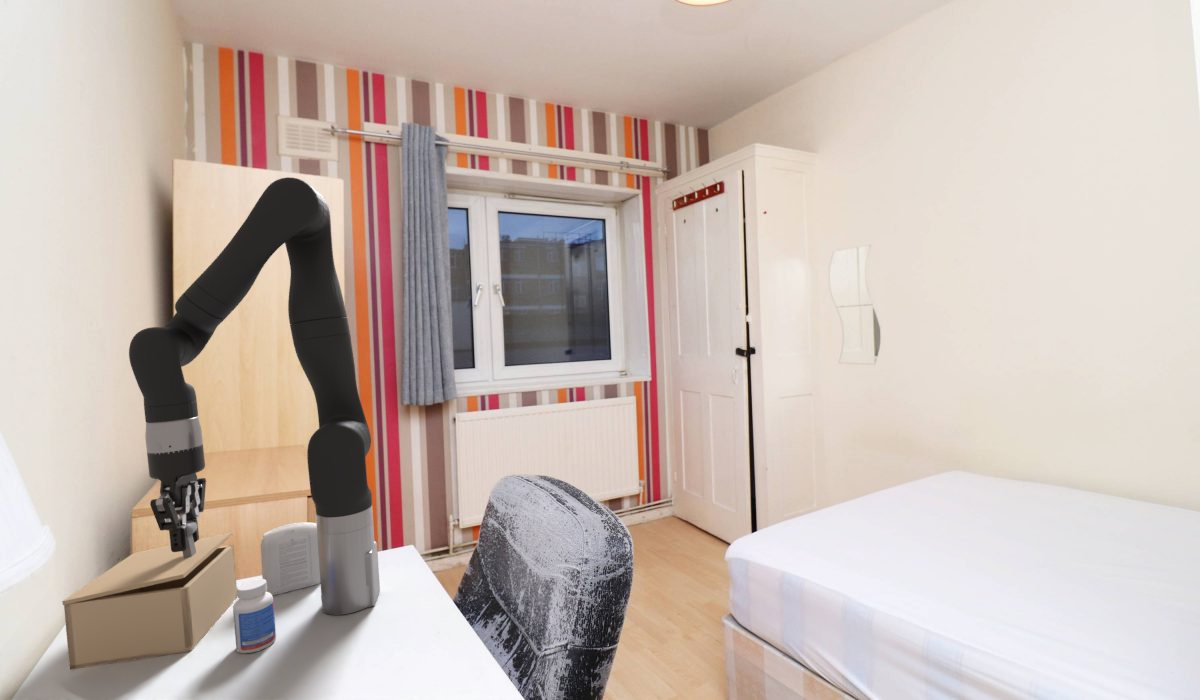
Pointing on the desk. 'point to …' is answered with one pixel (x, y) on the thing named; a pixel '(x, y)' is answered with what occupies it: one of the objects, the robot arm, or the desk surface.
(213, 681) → the desk surface
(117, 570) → the carton lid
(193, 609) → the carton
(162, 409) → the robot arm
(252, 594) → the pill bottle
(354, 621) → the desk surface
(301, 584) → the photo printer
